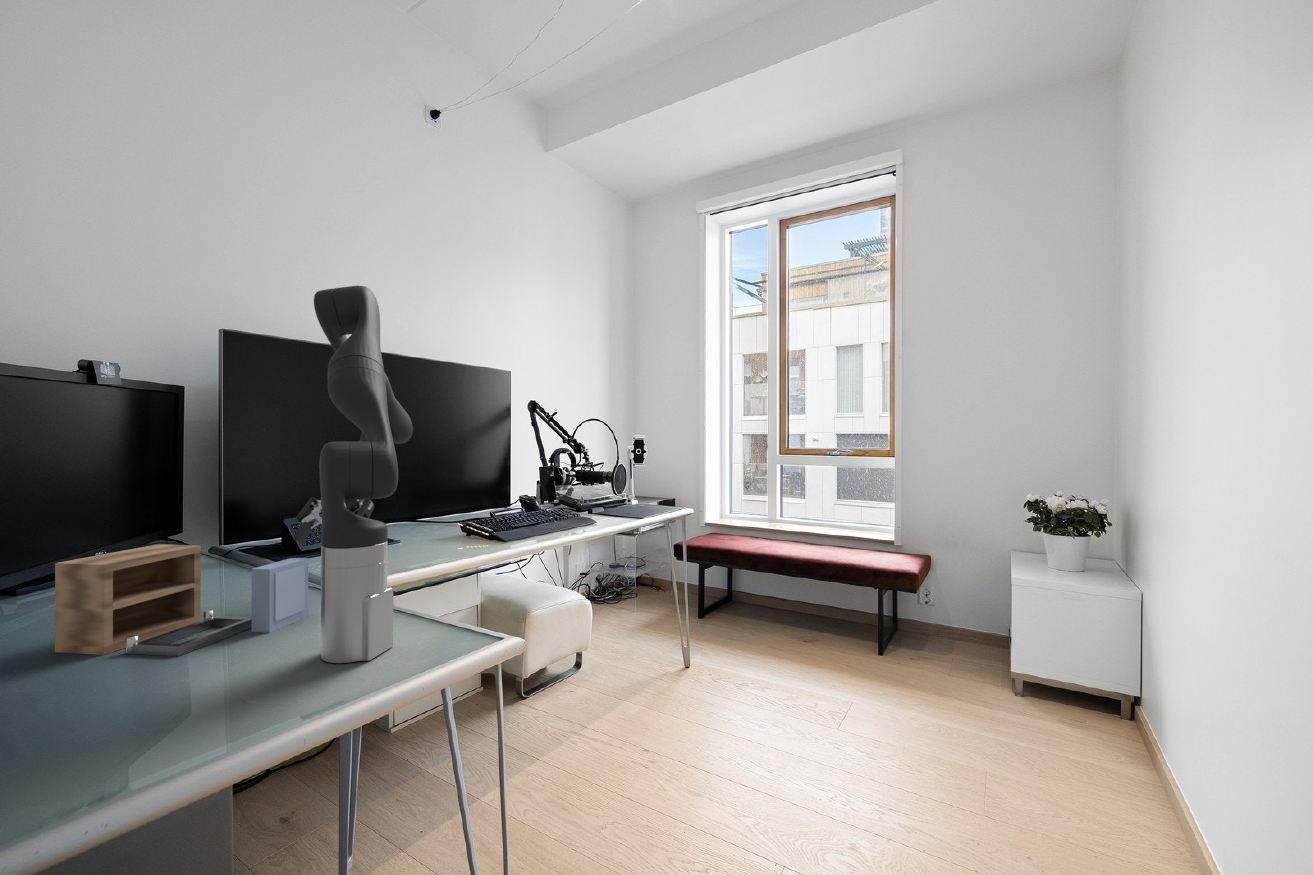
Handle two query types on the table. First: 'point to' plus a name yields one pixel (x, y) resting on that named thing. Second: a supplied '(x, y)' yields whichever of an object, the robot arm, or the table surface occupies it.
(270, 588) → the recessed panel box
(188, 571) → the cabinet
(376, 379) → the robot arm
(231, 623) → the dark grey tray
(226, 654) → the table surface
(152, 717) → the table surface
